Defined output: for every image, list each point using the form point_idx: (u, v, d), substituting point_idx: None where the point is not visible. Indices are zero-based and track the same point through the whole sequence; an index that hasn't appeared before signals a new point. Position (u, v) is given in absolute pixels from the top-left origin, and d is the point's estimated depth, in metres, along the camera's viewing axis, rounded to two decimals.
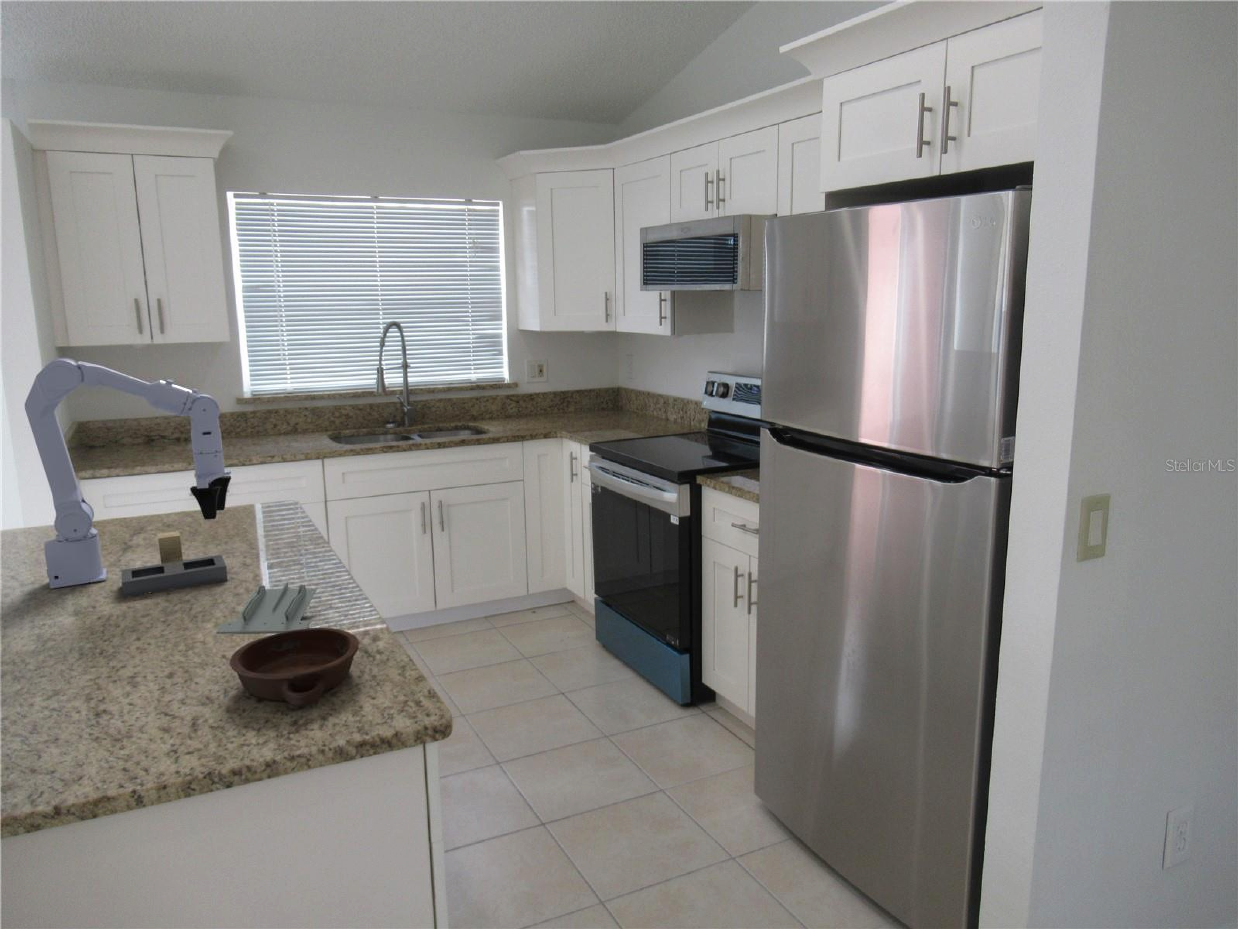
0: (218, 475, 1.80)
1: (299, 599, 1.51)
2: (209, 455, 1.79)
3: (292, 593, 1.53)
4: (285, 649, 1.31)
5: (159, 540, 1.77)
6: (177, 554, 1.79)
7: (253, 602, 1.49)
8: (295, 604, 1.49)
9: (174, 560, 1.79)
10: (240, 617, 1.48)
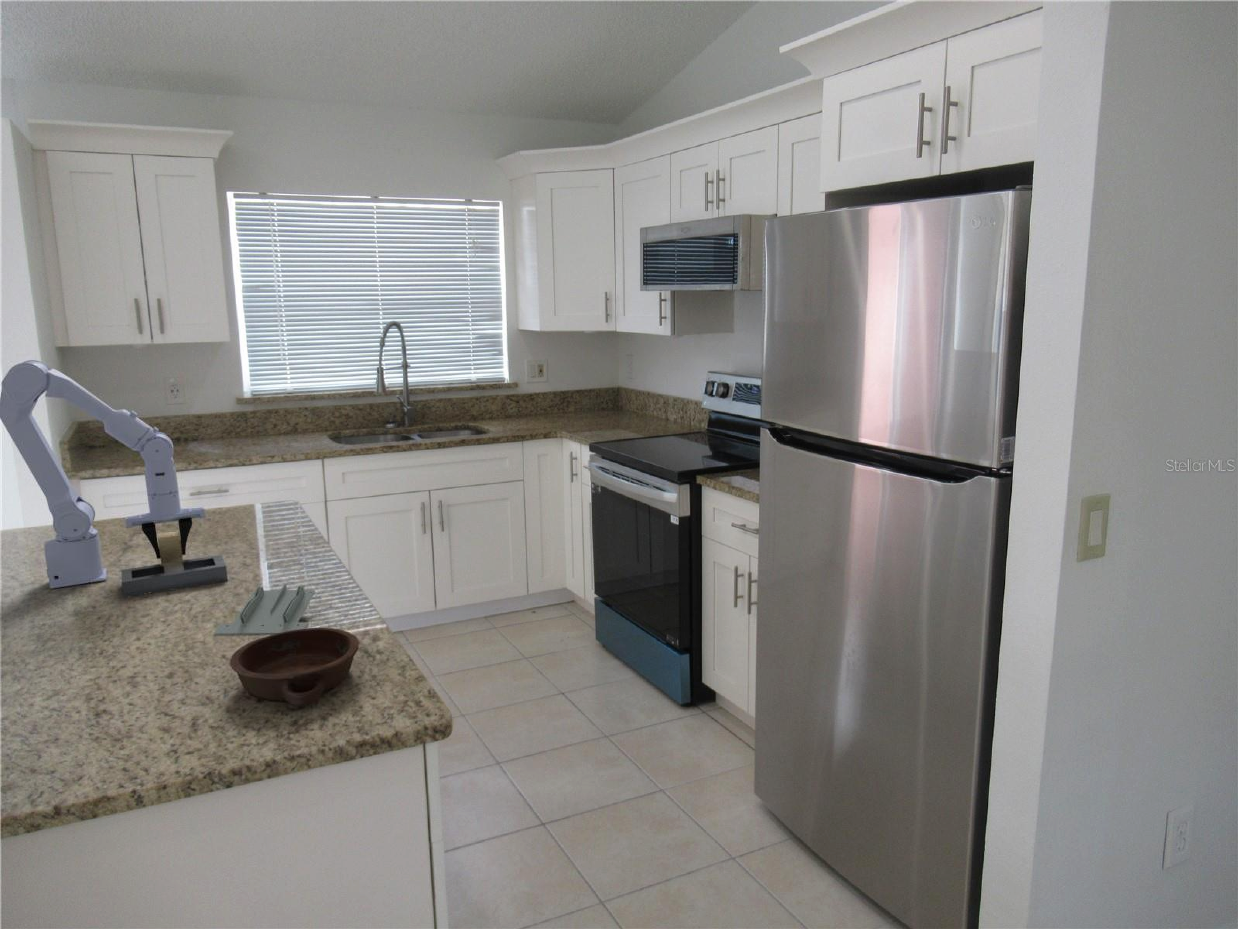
0: (151, 518, 1.76)
1: (297, 601, 1.50)
2: (148, 496, 1.76)
3: (290, 595, 1.53)
4: (285, 649, 1.31)
5: (159, 540, 1.77)
6: (177, 554, 1.79)
7: (251, 604, 1.48)
8: (293, 606, 1.48)
9: (174, 560, 1.79)
10: (238, 619, 1.47)
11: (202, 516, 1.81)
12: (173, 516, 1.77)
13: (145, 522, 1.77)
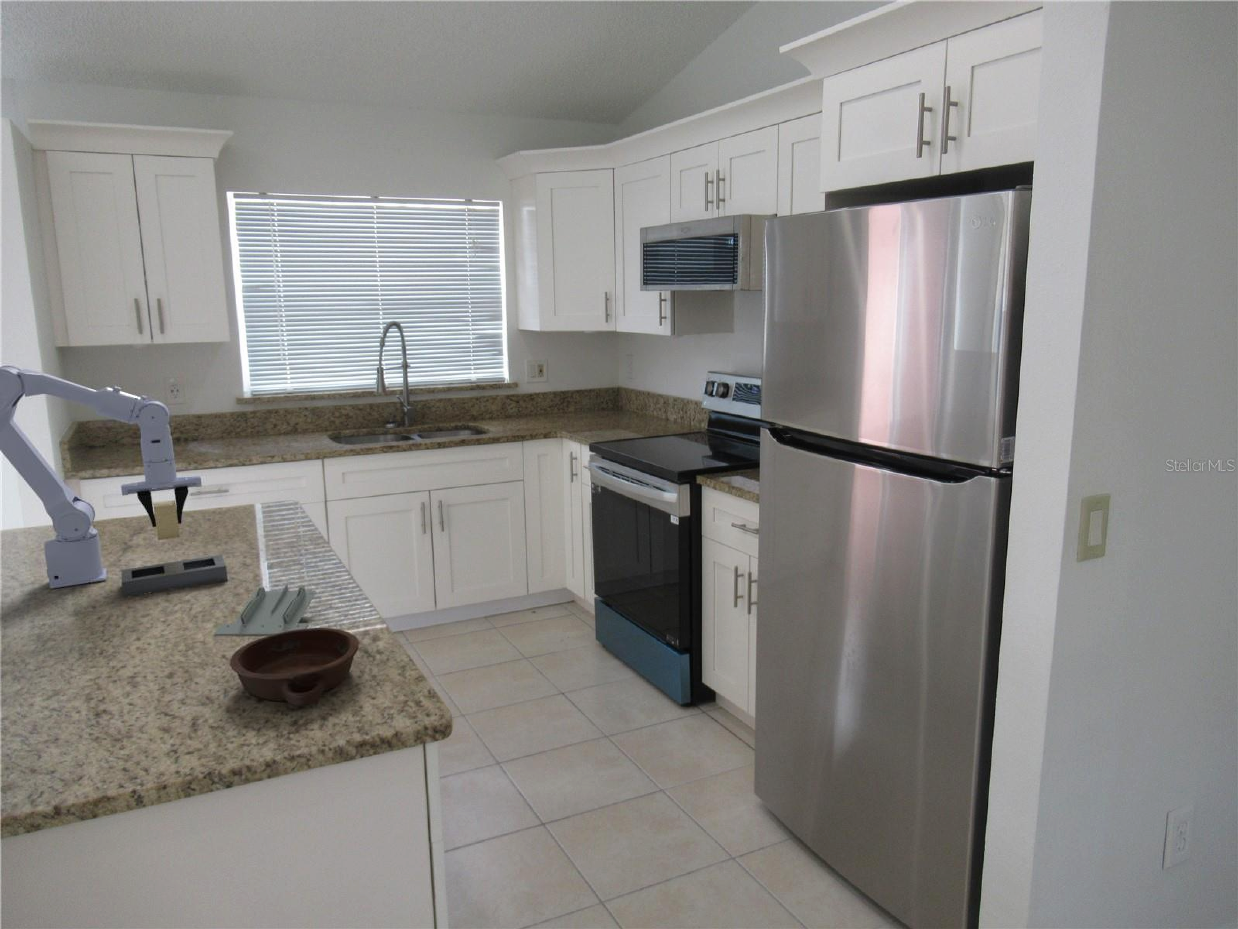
0: (146, 486, 1.74)
1: (298, 601, 1.49)
2: (144, 464, 1.75)
3: (291, 595, 1.52)
4: (285, 649, 1.31)
5: (155, 509, 1.76)
6: (173, 523, 1.78)
7: (252, 604, 1.48)
8: (294, 607, 1.48)
9: (170, 529, 1.78)
10: (238, 619, 1.47)
11: (198, 485, 1.80)
12: (169, 484, 1.76)
13: (141, 490, 1.76)
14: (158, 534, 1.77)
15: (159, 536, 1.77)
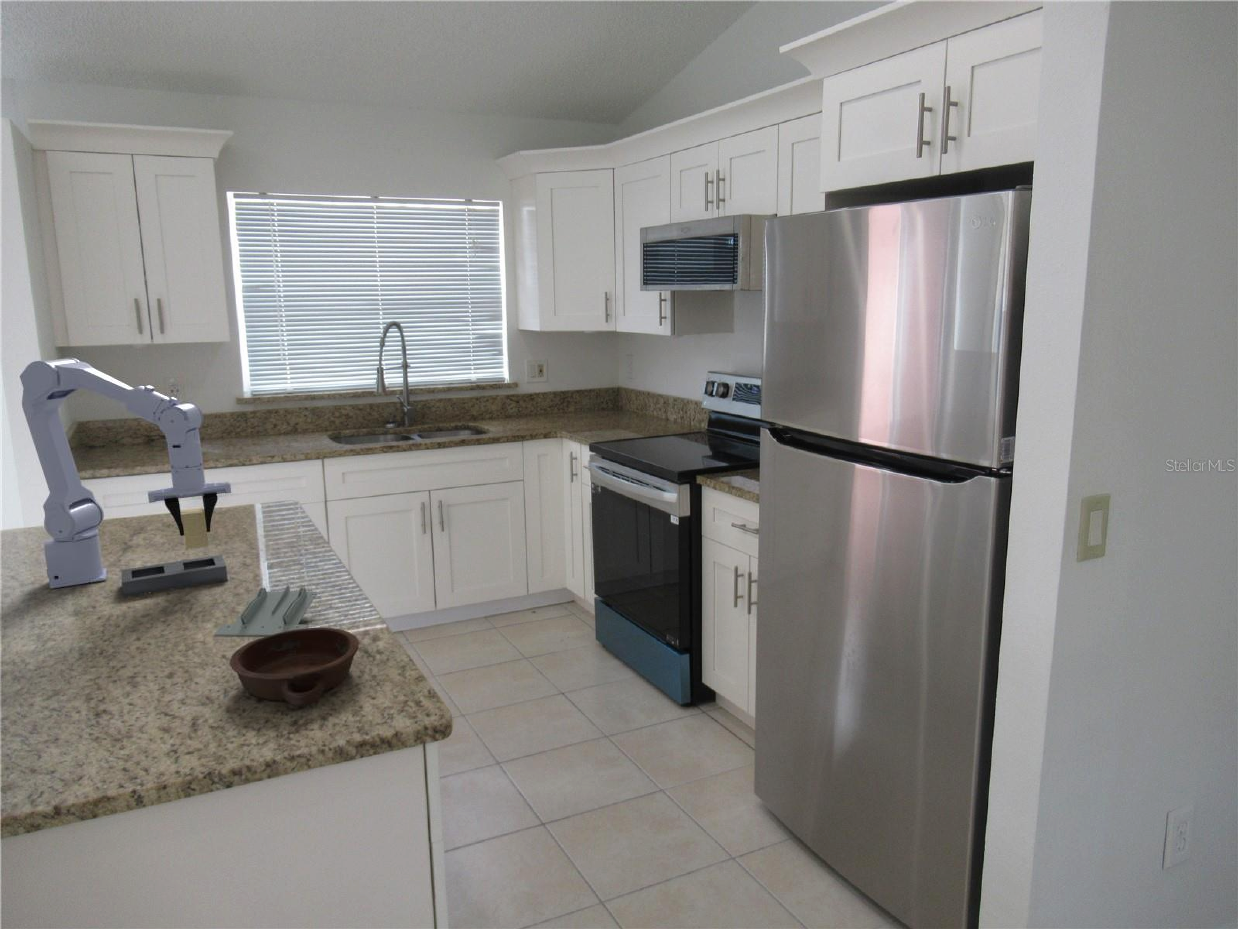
0: (174, 492, 1.66)
1: (298, 602, 1.49)
2: (171, 469, 1.67)
3: (293, 596, 1.52)
4: (285, 649, 1.31)
5: (183, 517, 1.68)
6: (202, 532, 1.70)
7: (252, 605, 1.48)
8: (294, 607, 1.47)
9: (198, 538, 1.70)
10: (239, 620, 1.47)
11: (228, 491, 1.72)
12: (198, 490, 1.68)
13: (168, 497, 1.67)
14: (186, 543, 1.69)
15: (187, 545, 1.69)
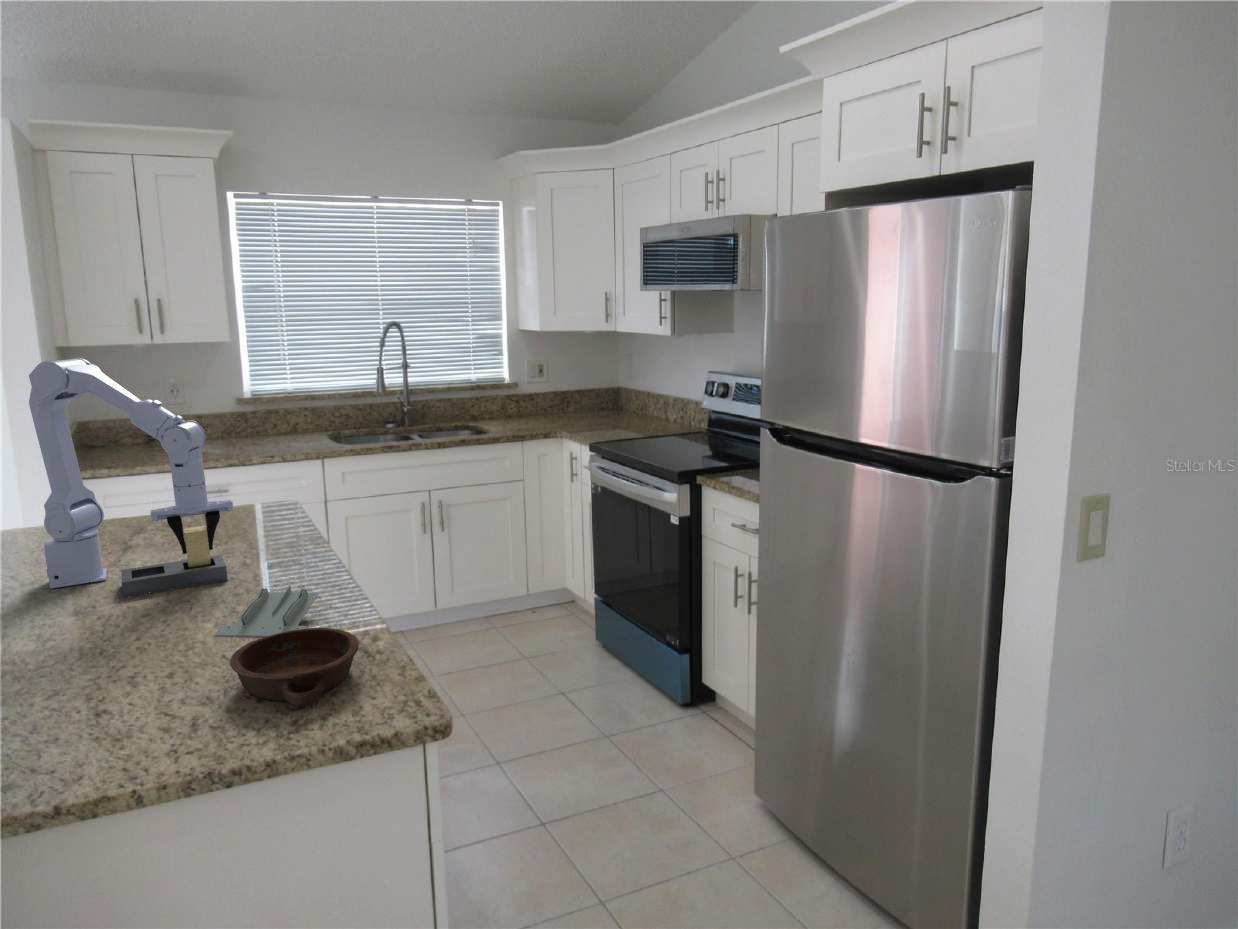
0: (177, 511, 1.67)
1: (299, 603, 1.48)
2: (174, 488, 1.67)
3: (294, 597, 1.51)
4: (285, 649, 1.31)
5: (185, 535, 1.69)
6: (204, 550, 1.71)
7: (253, 605, 1.47)
8: (294, 609, 1.47)
9: (201, 556, 1.71)
10: (240, 620, 1.46)
11: (230, 509, 1.73)
12: (200, 509, 1.68)
13: (171, 515, 1.68)
14: (189, 561, 1.70)
15: (190, 563, 1.70)
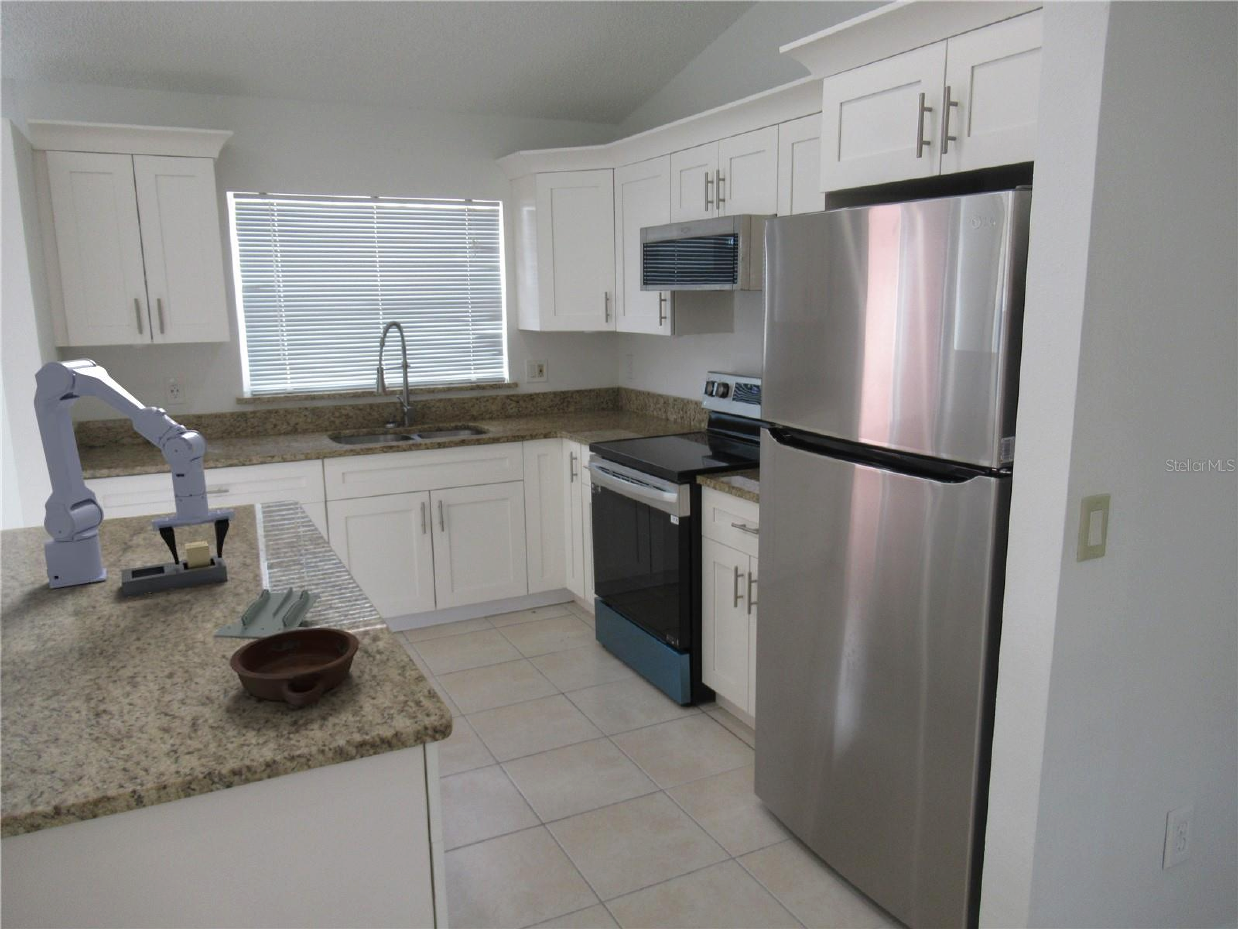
0: (178, 521, 1.67)
1: (300, 605, 1.48)
2: (175, 498, 1.68)
3: (295, 598, 1.51)
4: (285, 649, 1.31)
5: (187, 550, 1.69)
6: (206, 565, 1.71)
7: (254, 606, 1.47)
8: (294, 610, 1.46)
9: None
10: (240, 621, 1.46)
11: (231, 519, 1.73)
12: (201, 519, 1.69)
13: (172, 525, 1.68)
14: None
15: None
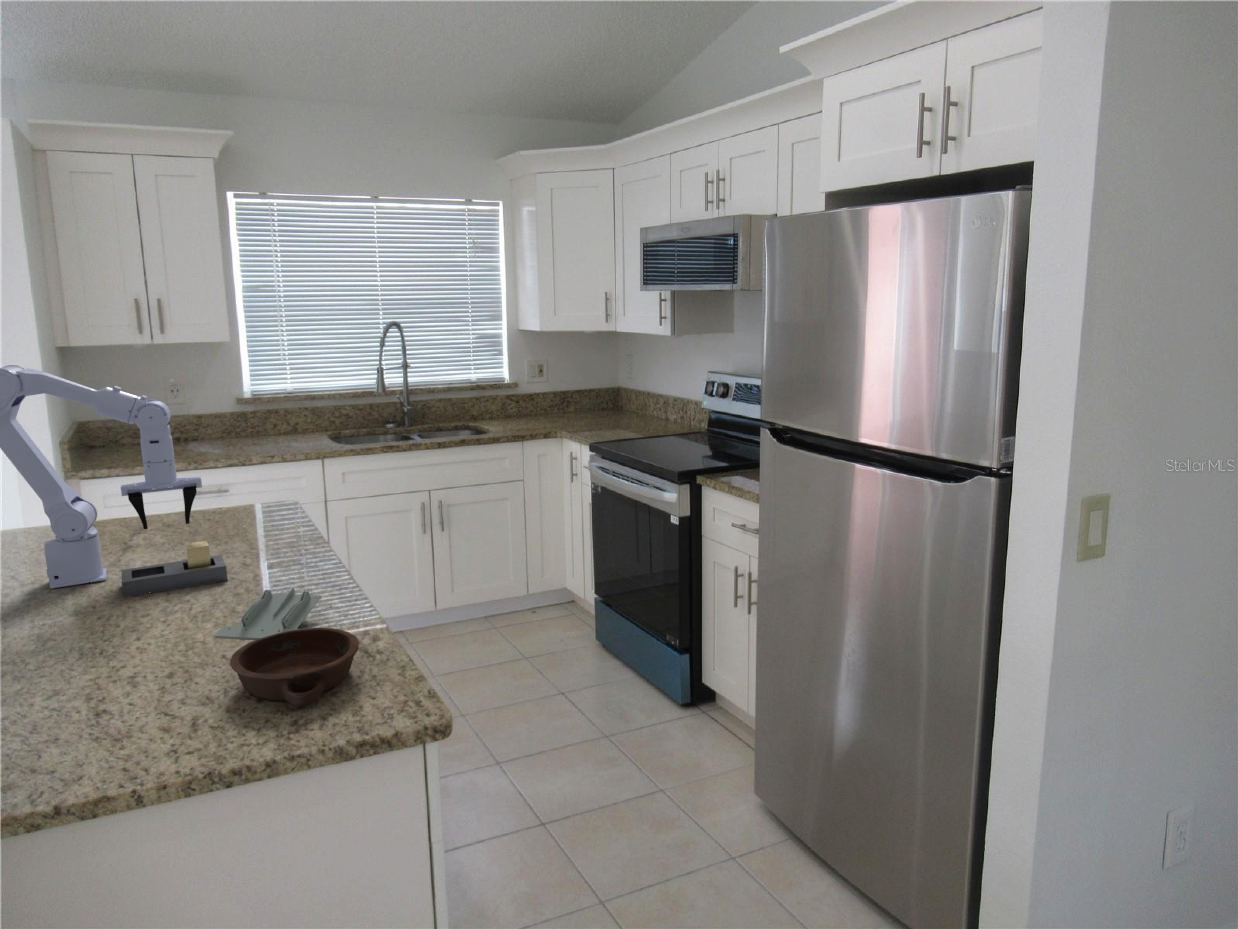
0: (146, 486, 1.73)
1: (300, 606, 1.47)
2: (143, 464, 1.73)
3: (296, 599, 1.50)
4: (285, 649, 1.31)
5: (187, 550, 1.69)
6: (206, 565, 1.71)
7: (255, 607, 1.47)
8: (295, 611, 1.45)
9: None
10: (241, 622, 1.46)
11: (198, 486, 1.79)
12: (169, 485, 1.74)
13: (140, 490, 1.74)
14: None
15: None
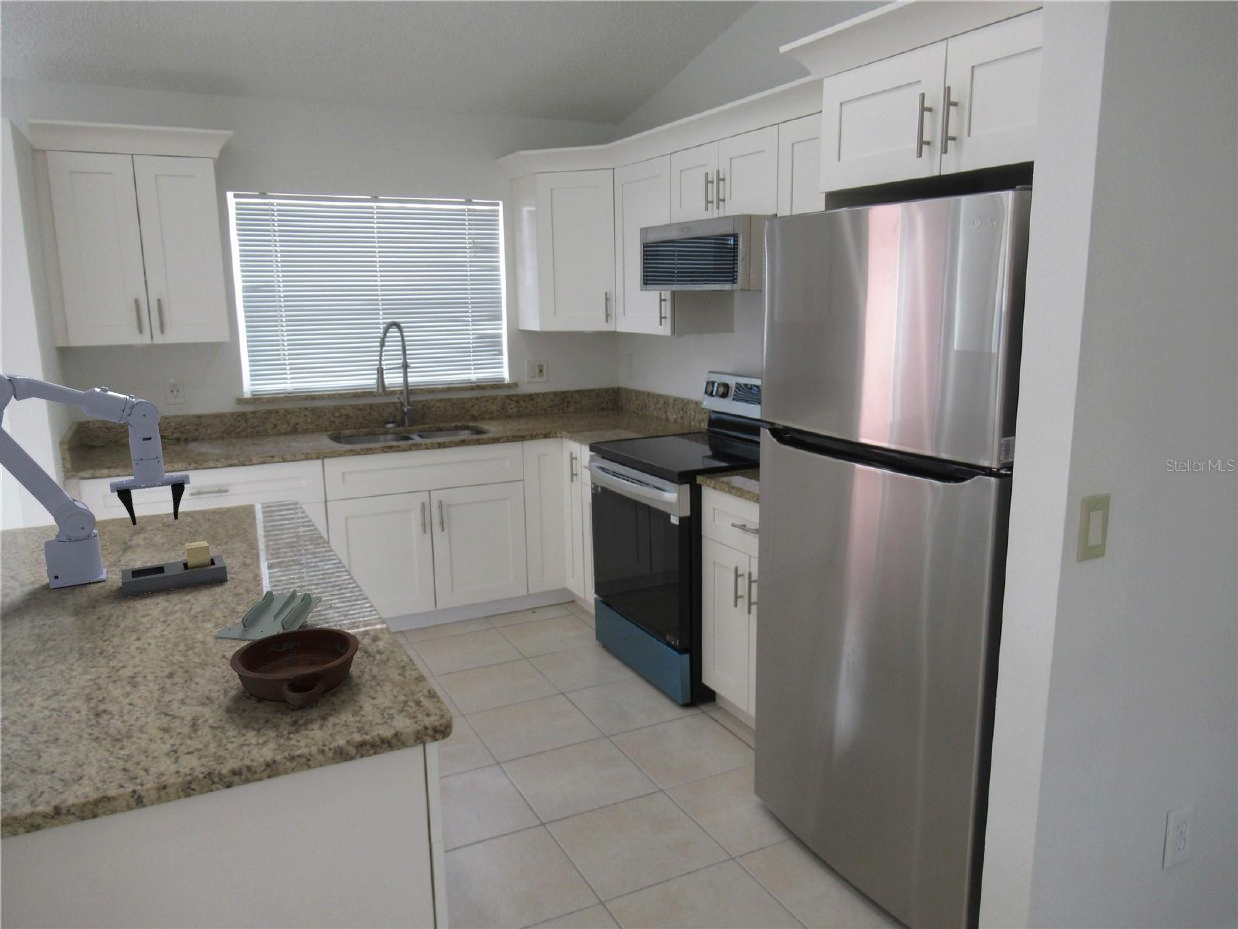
0: (135, 483, 1.76)
1: (301, 608, 1.46)
2: (132, 461, 1.76)
3: (298, 600, 1.50)
4: (285, 649, 1.31)
5: (187, 550, 1.69)
6: (206, 565, 1.71)
7: (256, 608, 1.46)
8: (295, 613, 1.45)
9: None
10: (242, 622, 1.45)
11: (186, 482, 1.82)
12: (157, 481, 1.77)
13: (129, 487, 1.77)
14: None
15: None
